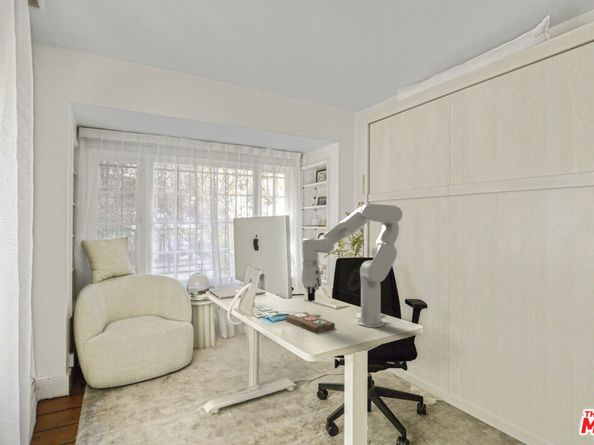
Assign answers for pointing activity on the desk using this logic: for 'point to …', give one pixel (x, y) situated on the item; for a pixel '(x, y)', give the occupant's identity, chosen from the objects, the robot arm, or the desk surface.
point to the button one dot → (300, 315)
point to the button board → (310, 323)
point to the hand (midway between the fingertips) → (311, 300)
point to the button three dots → (319, 322)
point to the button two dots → (309, 319)
